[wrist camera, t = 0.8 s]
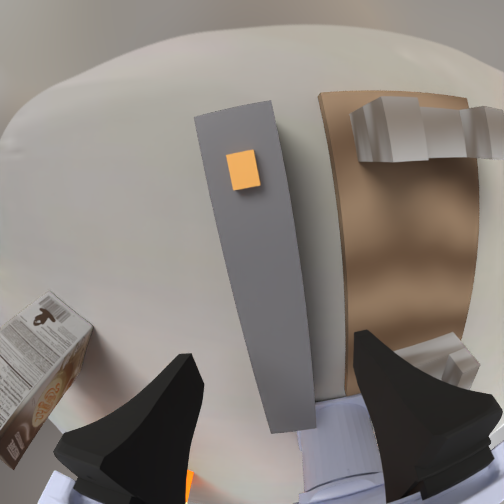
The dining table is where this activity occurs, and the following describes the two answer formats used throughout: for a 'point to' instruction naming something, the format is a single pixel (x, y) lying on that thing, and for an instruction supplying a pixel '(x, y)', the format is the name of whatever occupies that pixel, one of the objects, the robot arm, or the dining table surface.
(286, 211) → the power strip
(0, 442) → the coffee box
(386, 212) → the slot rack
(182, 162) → the dining table surface
